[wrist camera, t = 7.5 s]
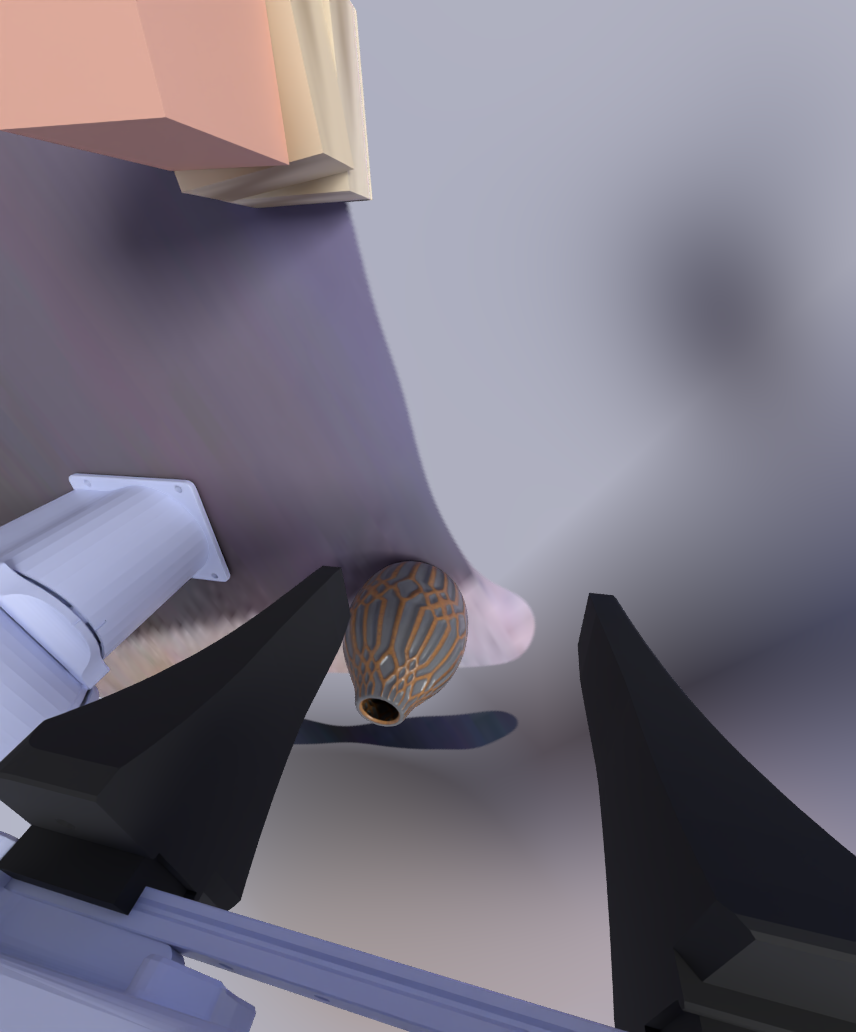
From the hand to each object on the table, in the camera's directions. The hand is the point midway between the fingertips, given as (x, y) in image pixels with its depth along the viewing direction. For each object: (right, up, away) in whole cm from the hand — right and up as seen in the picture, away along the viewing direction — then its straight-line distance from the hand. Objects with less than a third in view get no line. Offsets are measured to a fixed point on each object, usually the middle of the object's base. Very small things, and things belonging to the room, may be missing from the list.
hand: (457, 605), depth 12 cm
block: (-7, +15, -1) cm, 16 cm away
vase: (-1, -2, +14) cm, 14 cm away
